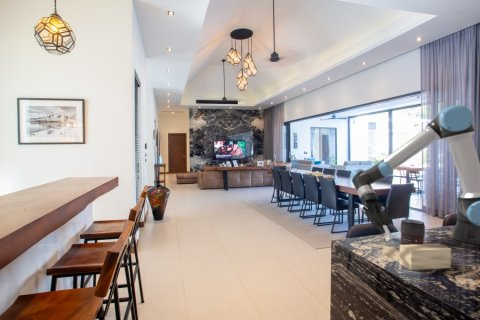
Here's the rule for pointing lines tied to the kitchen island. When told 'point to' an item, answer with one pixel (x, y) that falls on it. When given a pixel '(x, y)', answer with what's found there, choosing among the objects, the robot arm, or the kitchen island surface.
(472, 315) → the kitchen island surface
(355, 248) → the kitchen island surface
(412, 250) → the cradle
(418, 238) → the camera lens
